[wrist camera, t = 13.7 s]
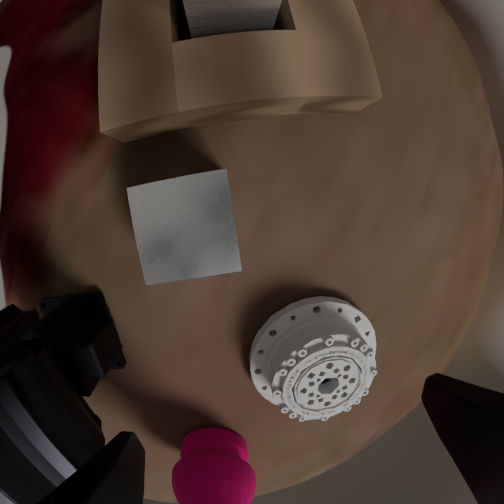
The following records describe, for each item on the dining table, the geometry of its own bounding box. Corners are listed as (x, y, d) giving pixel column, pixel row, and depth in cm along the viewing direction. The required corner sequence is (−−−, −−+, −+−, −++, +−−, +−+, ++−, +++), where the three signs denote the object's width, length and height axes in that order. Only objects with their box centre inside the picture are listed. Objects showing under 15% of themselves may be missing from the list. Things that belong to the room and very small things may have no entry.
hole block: (124, 142, 17) (100, 132, 13) (123, -19, 13) (110, -44, 10) (356, 112, 18) (382, 97, 14) (309, -40, 14) (320, -66, 10)
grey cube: (165, 261, 19) (146, 285, 14) (152, 188, 18) (126, 188, 13) (238, 250, 19) (242, 270, 14) (227, 174, 18) (226, 168, 13)
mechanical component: (310, 267, 20) (222, 364, 21) (331, 288, 16) (221, 401, 17) (389, 336, 22) (310, 413, 23) (415, 362, 18) (323, 447, 19)
